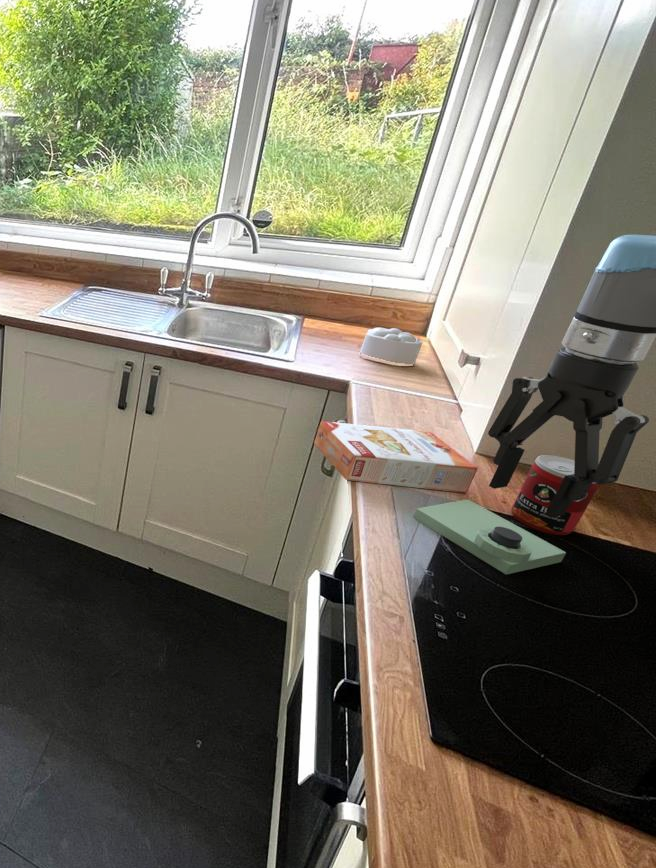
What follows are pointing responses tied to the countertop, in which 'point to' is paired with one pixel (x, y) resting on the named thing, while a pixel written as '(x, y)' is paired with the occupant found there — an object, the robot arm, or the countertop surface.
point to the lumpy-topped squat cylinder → (391, 345)
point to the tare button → (506, 537)
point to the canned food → (549, 496)
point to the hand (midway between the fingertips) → (525, 499)
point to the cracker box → (394, 457)
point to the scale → (487, 536)
